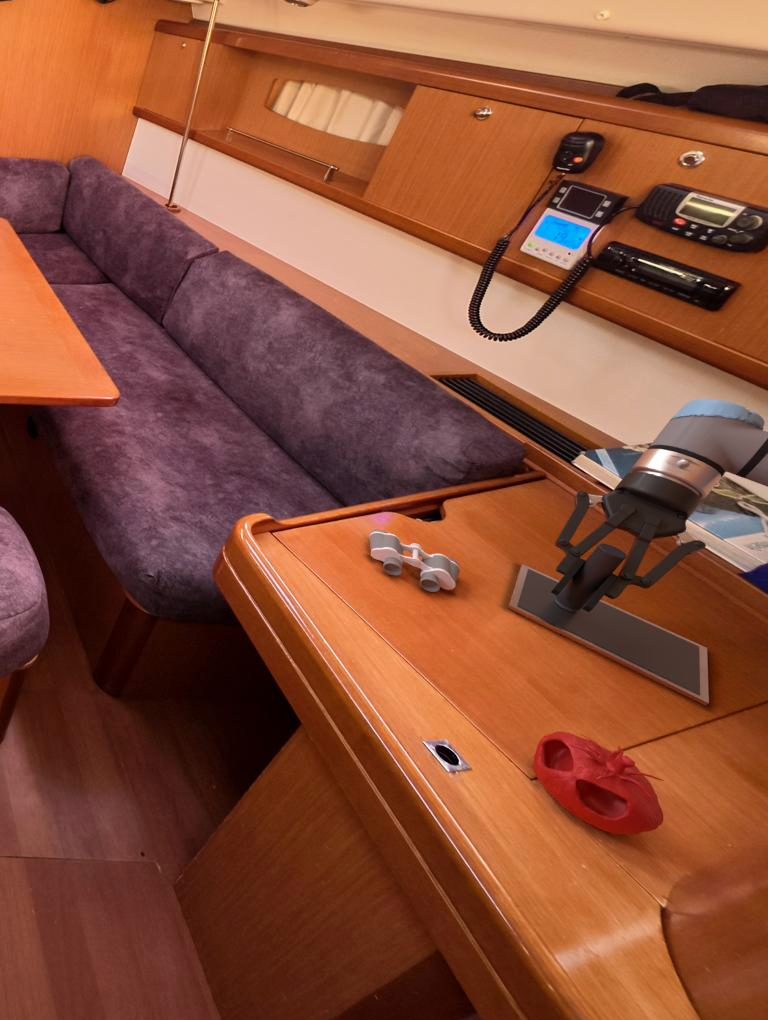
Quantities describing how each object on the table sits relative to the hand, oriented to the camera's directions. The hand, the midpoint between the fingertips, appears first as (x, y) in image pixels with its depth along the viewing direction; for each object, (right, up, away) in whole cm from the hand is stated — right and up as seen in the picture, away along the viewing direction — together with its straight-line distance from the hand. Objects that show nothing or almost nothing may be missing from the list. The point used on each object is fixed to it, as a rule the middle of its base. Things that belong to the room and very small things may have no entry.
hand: (571, 600), depth 97 cm
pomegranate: (-25, -15, -21) cm, 36 cm away
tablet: (+6, -5, +1) cm, 8 cm away
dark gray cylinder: (+3, -2, +3) cm, 5 cm away
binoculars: (-15, 0, +11) cm, 19 cm away
